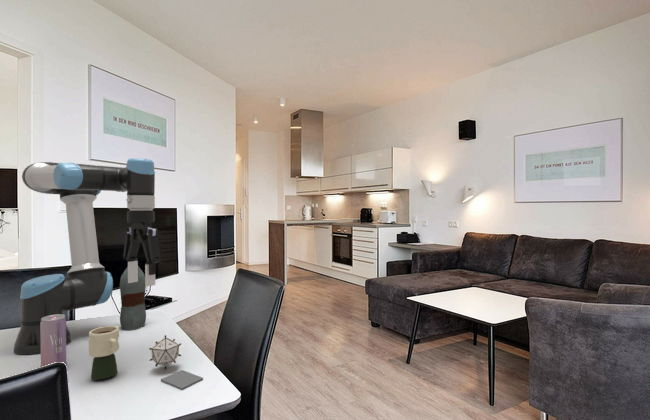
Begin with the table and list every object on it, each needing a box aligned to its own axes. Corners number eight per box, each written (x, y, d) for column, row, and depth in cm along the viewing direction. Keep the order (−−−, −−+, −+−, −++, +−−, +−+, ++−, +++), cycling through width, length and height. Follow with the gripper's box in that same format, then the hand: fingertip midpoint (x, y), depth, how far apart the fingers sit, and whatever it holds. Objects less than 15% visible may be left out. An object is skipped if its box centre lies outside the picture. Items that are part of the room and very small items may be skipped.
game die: (169, 377, 99) (168, 341, 99) (141, 375, 101) (141, 339, 101) (187, 364, 108) (187, 330, 108) (162, 361, 110) (162, 328, 110)
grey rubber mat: (160, 381, 97) (160, 379, 97) (182, 372, 103) (182, 369, 103) (181, 390, 92) (181, 388, 92) (203, 380, 98) (203, 377, 98)
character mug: (128, 376, 100) (128, 329, 100) (102, 387, 94) (101, 337, 94) (106, 367, 106) (106, 323, 106) (80, 377, 99) (79, 330, 99)
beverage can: (62, 362, 109) (62, 312, 109) (69, 367, 106) (68, 316, 105) (38, 369, 105) (37, 317, 105) (44, 375, 101) (43, 321, 101)
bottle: (124, 323, 146) (124, 249, 146) (149, 322, 148) (148, 248, 147) (115, 331, 137) (115, 252, 136) (142, 330, 138) (141, 251, 138)
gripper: (109, 209, 113) (110, 282, 113) (149, 209, 102) (150, 290, 102) (133, 209, 119) (133, 278, 120) (173, 209, 108) (174, 285, 108)
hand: (141, 283), depth 111 cm, fingers open, 9 cm apart
